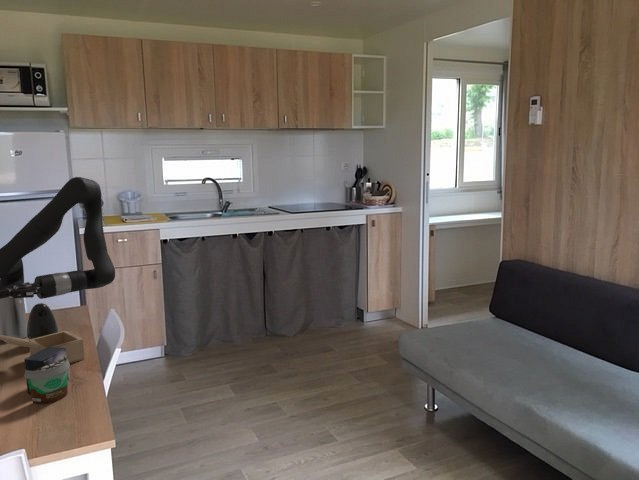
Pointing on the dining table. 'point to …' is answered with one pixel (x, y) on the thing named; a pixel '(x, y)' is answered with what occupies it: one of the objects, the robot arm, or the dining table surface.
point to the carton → (61, 344)
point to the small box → (44, 359)
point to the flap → (18, 341)
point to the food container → (48, 382)
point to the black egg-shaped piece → (41, 322)
